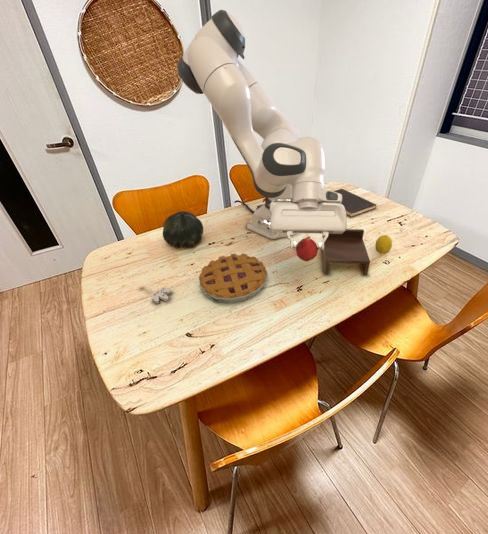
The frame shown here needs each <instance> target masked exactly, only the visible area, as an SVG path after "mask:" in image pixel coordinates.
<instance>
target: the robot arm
mask: <svg viewBox="0 0 488 534" xmlns="http://www.w3.org/2000/svg"><path fill="white" fill-rule="evenodd" d="M245 49H246V37H245V35H244V31H243V29H242V26H241V24H240V22H239V21H238V20H237V18H236V17H234V15H232V14H231V13H229V12H227V10H224V9H219V10H218V11H216V12H215V13H213V14H212V15H211V19H209V20H208V21H207V22H206V23H205V24H204V25H203V26H202V27H200V29H199V30H198V31H197V33H196V34H195V35H194V38H193V39H192V40H191V42H190V43H189V45H188V47H187V48H186V49H185V51H184V52H183V54H182V55H180V57H179V59H178V61H177V64H176V71H177V74H178V76H179V78H180V79H181V81H182V83H183V84H184V85H185V86H186V88H188V89H189V90H190V91H192V92H193V93H195V94H196V95H203V94H204V96H205V98H206V99H207V100H208V102H209V103H210V105H211V107H212V108H213V110H214V111H215V112H216V114H217V116H218V117H219V118H220V120H221V122H222V123H223V125H224V127H225V129H226V130H227V132H228V134H229V136H230V138H231V139H232V141H233V144H234V146H235V147H236V148H237V150H238V152H239V153H240V156H241V157H242V158H243V160H244V162H245V164H246V165H247V167H248V169H249V171H250V173H251V177H252V183H253V186H254V188H255V190H256V191H257V193H258V194H259V195H261V196H263V199H262V204H259V205H256V209H255V211H254V210H253V209H251V208H250V207H249V206H248V204H246V203H245V202H243V201H241V200H238V199H237V200H235V201H233V202H234V204H236V203H240V204H241V205H243V206H245V207H246V209H247V210H249V212H251V214H252V217H251V219H250V220H249V221H248V222H247V225H246V228H247V230H250V231H251V232H253V233H256V234H259V235H261V236H264V237H266V238H268V239H271V240H276V239H279V238H287V239H288V241H289V242H290V250H296V247H297V244H298V242H297V241H294V239H293V238H292V237H293V236H294V235H296V234H321V236H322V241H318V242H317V247H318V251H322V250H324V242H325V241H326V239H327V237H328V234H342V233H344V232H345V230H346V229H348V218H347V215H346V211H345V208H344V206H343V205H342V204H341V203H342V195H341V194H340V193H337V192H333V191H334V190H331V189H328V188H326V185H325V181H324V179H325V175H326V155H325V149H324V146H323V145H322V143H321V141H320V140H318V139H317V138H314V137H312V136H302V135H301V131H300V130H299V128H298V127H297V126H295V125H294V124H292V122H291V121H290V120H289V119H288V118H287V117H286V116H285V115H284V114H283V113H282V111H280V110H279V109H278V108H277V107H276V106H275V104H274V102H272V100H271V99H270V97H269V96H268V95H267V93H266V92H265V90H264V89H263V87H262V86H261V85H260V84H259V82H258V81H257V80H256V78H255V77H254V75H253V74H252V73H251V72H250V71H249V69H248V68H247V67H246V66H245V65H244V64H243V63H242V62H241V61H240V60H239V57H240V58H242V60H245V58H246V57H245V55H244V53H245ZM255 133H256V134H257V135H259V136H260V137H261V138H262V139H263V140H262V142H261V144H260V142H259V140H258V138H257V136H256V134H255ZM323 237H324V239H323Z"/></svg>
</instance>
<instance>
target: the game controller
mask: <svg viewBox="0 0 488 534" xmlns="http://www.w3.org/2000/svg"><path fill="white" fill-rule="evenodd" d="M140 289H141V290H143V289H144V290H145V291H147V292H148V290H147V289H146V288H144V287H141V288H140ZM151 292H152V295H151V301H152V302H153V303H155V304H156V305H158V304H160V300H161V301H164V302H169V301H170V299H169V296H168V295H170V294H171V289H169V288H168V287H161V288H159V289H158V290H156V291H153V290H151Z"/></svg>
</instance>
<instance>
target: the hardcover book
mask: <svg viewBox="0 0 488 534" xmlns="http://www.w3.org/2000/svg"><path fill="white" fill-rule="evenodd" d="M332 191H333V192H337V193H340V194H341V195H342V203H341V204H342V205H343V206H344V208H345V211H346V217H347V216H348V218H354V217H357V216H360V215H362V214H364V213H368V212H370V211H374V210H375V209H376V208H377V204H376V203H374V202H372V201H370V200H367V199H366V198H364V197H362V196H359V195H357V194H355V193H353V192H350V191H348V190H347V189H344V188H339V189H336V190H332Z"/></svg>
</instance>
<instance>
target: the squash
mask: <svg viewBox="0 0 488 534" xmlns="http://www.w3.org/2000/svg"><path fill="white" fill-rule="evenodd" d="M162 227H163V228H162V239H163V240H164V242H166V244H168V245H169V246H171V247H174V248H176V249H179V248H182V249H185V248H186V247H187V248H188V249H189V248H190V249H192V248H194V247H195V246H196V245H199V243H200V242H201V241H202V237H203V233H204V225H203V223H202V221H201V220H200V219H199V218H198V217H197V216H196V215H195V214H194V213H192V212H189V211H185V210H182V211H181V210H180V211H178V212H175V213H173V214H171V215H169V216H167V218H165V220H164V222H163V226H162Z"/></svg>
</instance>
